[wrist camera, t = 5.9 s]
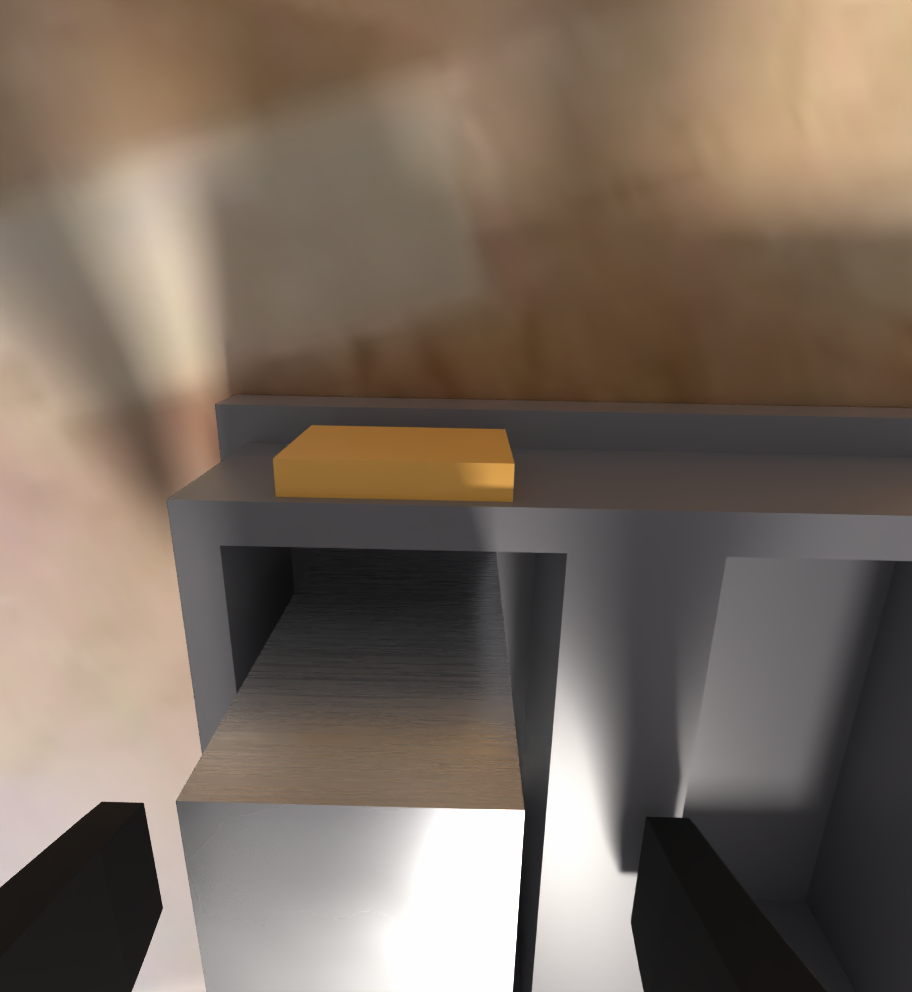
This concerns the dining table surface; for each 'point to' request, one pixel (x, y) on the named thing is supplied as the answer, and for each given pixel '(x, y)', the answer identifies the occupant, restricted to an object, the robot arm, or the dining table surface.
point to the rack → (624, 636)
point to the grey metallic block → (365, 789)
